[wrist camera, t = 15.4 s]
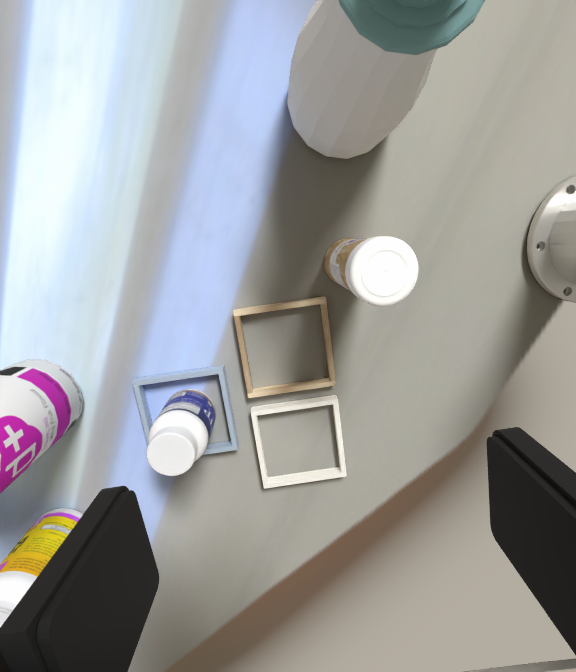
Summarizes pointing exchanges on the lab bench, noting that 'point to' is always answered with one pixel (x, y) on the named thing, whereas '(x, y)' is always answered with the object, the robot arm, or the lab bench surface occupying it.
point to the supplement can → (33, 413)
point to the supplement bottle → (33, 556)
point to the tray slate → (187, 374)
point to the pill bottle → (181, 432)
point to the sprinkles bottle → (373, 268)
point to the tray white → (303, 476)
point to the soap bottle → (366, 67)
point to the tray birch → (290, 386)
